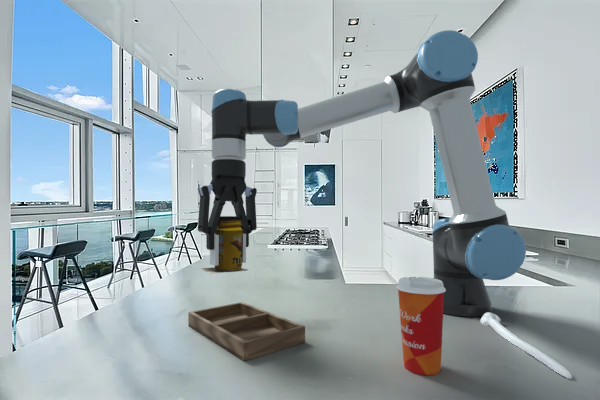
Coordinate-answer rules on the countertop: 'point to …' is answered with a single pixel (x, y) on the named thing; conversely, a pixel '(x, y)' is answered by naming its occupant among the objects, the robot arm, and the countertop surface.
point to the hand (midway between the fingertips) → (228, 263)
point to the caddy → (246, 329)
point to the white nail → (522, 344)
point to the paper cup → (421, 323)
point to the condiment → (228, 245)
